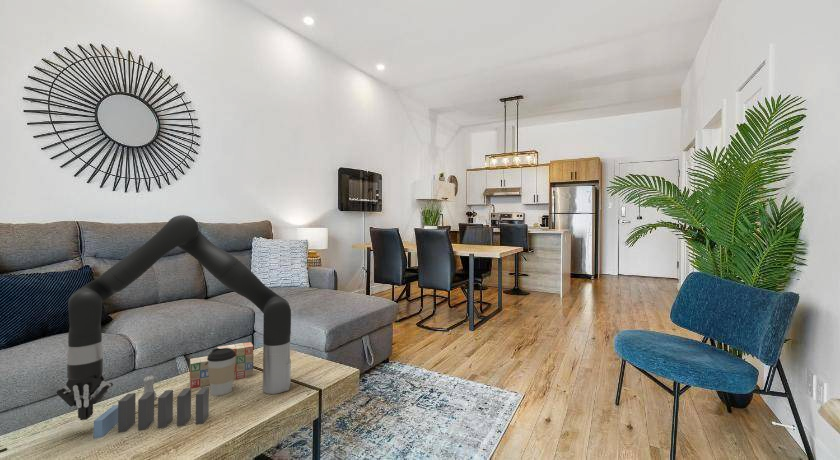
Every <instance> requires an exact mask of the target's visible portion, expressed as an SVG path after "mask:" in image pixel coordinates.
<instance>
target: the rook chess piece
mask: <svg viewBox="0 0 840 460" xmlns="http://www.w3.org/2000/svg"><path fill="white" fill-rule="evenodd" d="M154 381H155V377H154V375H147V376H144V379H143V380H142V382H143V383H144V384H143V386H144V388H143V393H142V395H141V397H142V396H143V395H144V394H145V393H146V392H153V391H154V401H156V399H158V397H157V393H156V391H155V388H154V383H155V382H154ZM141 397H140V398H141Z"/></svg>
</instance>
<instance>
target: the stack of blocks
mask: <svg viewBox="0 0 840 460" xmlns="http://www.w3.org/2000/svg"><path fill="white" fill-rule="evenodd" d="M216 348H219V349H221V348H231V349H232V350H233V351H235V354H236V356H235V368H234V378H233V381H235V380H239V379H244V378H245V379H246V378H250V377H253V376H254V356H255V355H254V345H253V343H252V342H251V341H250V342H240V343H234V344H229V345H228V344H227V345H222V346H217V347H216ZM207 358H208V355H207V356H202V357H195V358H194V357H193V358H190V359H189V388H191V389H194V388H198V387H206V386H210V383H209V373H208V360H207Z"/></svg>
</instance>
